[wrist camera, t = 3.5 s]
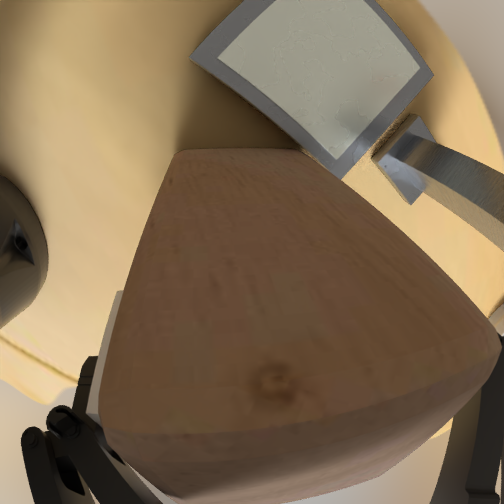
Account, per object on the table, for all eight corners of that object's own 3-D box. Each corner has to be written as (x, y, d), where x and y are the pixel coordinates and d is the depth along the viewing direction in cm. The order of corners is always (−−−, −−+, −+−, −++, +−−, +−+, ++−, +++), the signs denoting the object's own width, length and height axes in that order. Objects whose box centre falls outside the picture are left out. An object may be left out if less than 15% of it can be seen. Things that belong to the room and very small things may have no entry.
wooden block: (171, 147, 20) (68, 434, 3) (304, 146, 21) (525, 342, 5) (180, 262, 25) (177, 513, 8) (292, 256, 27) (388, 474, 10)
